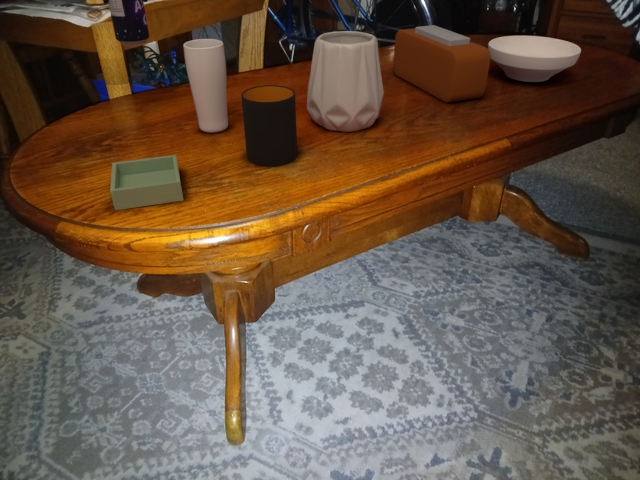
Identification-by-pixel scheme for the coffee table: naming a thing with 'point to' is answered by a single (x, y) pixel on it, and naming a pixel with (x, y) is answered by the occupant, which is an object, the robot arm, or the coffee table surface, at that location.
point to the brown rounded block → (441, 62)
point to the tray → (145, 182)
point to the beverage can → (129, 21)
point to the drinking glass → (208, 82)
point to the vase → (345, 81)
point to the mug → (270, 124)
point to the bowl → (532, 56)
